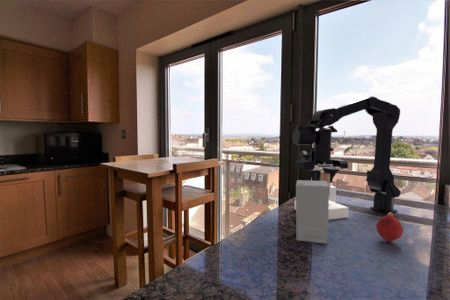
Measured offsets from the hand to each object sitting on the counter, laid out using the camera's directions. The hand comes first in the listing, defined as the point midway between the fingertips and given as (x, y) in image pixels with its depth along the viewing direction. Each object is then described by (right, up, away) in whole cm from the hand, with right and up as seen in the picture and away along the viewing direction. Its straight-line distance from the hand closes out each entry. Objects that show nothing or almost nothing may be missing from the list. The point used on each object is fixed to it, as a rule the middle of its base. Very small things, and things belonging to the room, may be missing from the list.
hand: (321, 187), depth 86 cm
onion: (+9, -11, -22) cm, 27 cm away
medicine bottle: (+8, -9, +16) cm, 19 cm away
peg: (0, -3, 0) cm, 3 cm away
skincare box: (-11, -11, -21) cm, 26 cm away
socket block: (0, -9, +1) cm, 9 cm away
